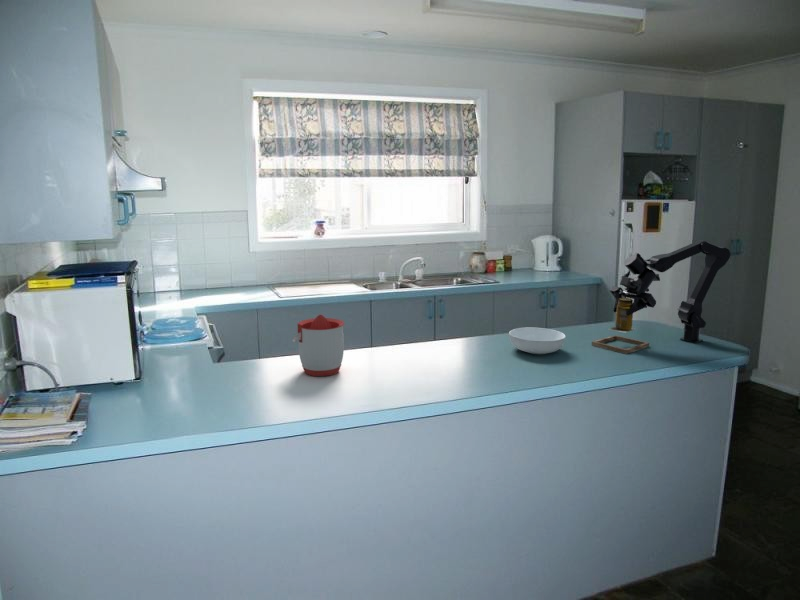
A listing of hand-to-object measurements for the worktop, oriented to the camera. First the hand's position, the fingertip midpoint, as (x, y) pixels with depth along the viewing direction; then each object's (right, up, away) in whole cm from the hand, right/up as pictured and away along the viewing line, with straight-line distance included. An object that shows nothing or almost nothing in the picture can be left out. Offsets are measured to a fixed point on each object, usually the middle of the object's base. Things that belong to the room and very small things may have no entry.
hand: (620, 313), depth 235 cm
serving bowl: (-33, -14, -3) cm, 36 cm away
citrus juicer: (-112, -20, -28) cm, 117 cm away
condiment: (+1, -7, +2) cm, 7 cm away
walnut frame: (+1, -13, +3) cm, 13 cm away
